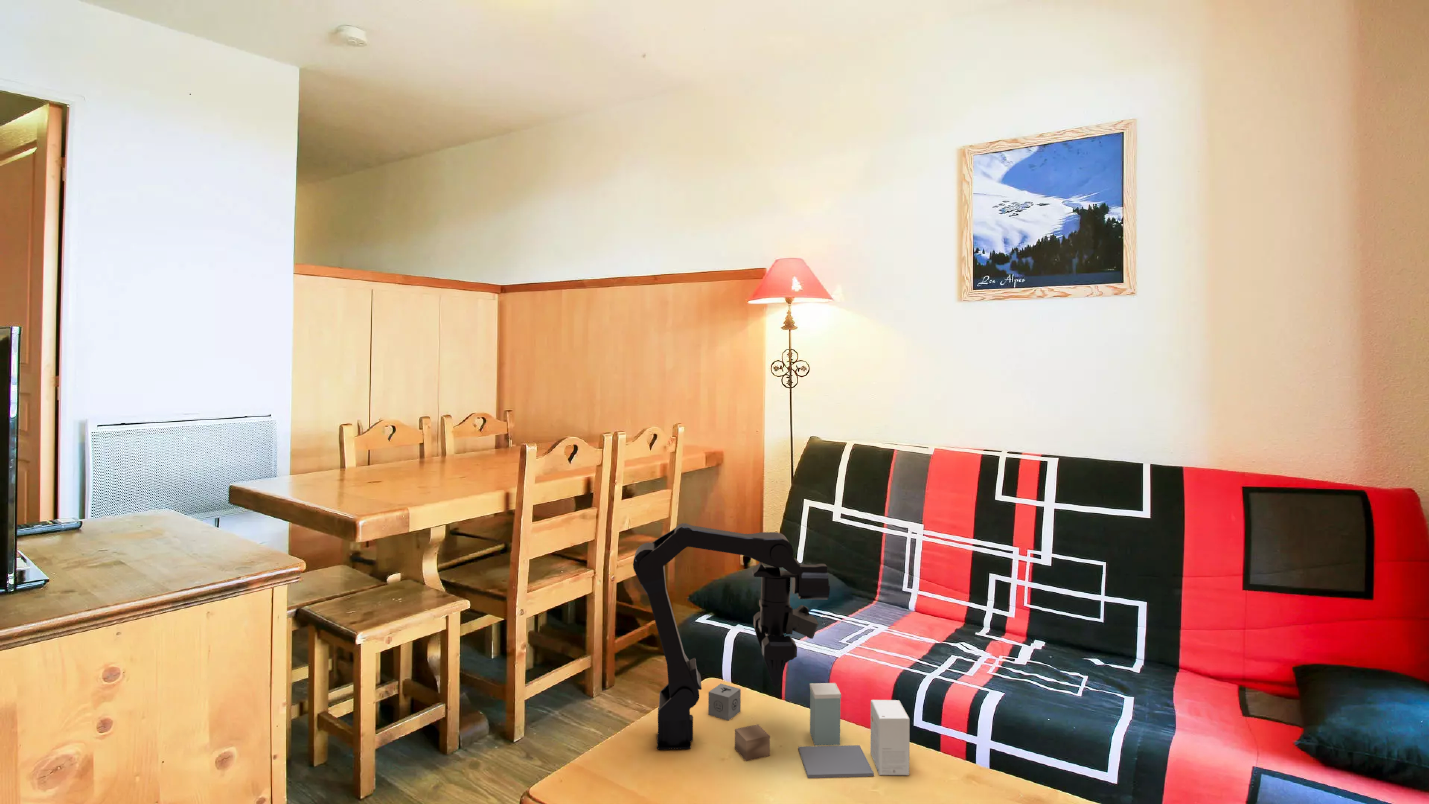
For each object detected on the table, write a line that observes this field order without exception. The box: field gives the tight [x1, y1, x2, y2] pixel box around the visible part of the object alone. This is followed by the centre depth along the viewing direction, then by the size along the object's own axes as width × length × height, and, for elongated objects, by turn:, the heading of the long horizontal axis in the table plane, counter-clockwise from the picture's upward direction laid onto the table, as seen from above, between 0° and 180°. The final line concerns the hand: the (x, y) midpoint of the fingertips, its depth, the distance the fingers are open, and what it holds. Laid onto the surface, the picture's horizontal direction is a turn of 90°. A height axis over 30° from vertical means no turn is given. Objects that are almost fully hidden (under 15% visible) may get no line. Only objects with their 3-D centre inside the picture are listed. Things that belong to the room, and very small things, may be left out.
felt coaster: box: [797, 744, 875, 779], centre depth 134 cm, size 12×10×1 cm
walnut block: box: [734, 723, 771, 762], centre depth 138 cm, size 5×5×4 cm
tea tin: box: [809, 682, 842, 746], centre depth 143 cm, size 5×5×10 cm
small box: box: [870, 699, 911, 776], centre depth 134 cm, size 8×6×10 cm
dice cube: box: [707, 683, 742, 721], centre depth 154 cm, size 5×5×5 cm
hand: (772, 676), depth 142 cm, fingers open, 9 cm apart
